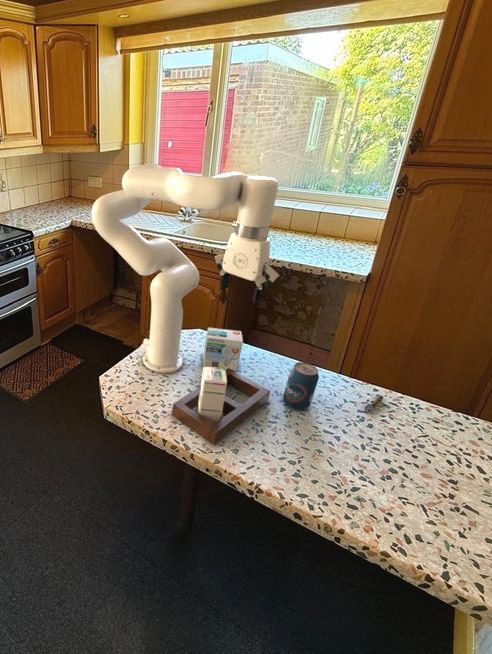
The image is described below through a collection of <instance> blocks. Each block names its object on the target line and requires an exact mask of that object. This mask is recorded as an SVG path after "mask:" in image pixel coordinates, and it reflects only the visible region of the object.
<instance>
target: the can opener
mask: <svg viewBox="0 0 492 654" xmlns="http://www.w3.org/2000/svg"><path fill="white" fill-rule="evenodd" d="M383 398H384V397H383V396H382V395H378V396H377V397H376V398H375V399H374V401H373V402H372V404H367V405H365V406H364V411H367V412H372V410H373V409H374V410H377V406H378V404H379V403H381V402H382V401H383Z"/></svg>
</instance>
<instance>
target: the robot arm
mask: <svg viewBox="0 0 492 654" xmlns="http://www.w3.org/2000/svg"><path fill="white" fill-rule="evenodd" d="M121 187H122V189H120V190H116V191H112V192H109V193H106V194H103V195H101V196H100V197H98V198H97V199H96V200H95V201H94V203H93V205H92V208H91V220H92V223H93V226H94V229H95V231H96V232H97V233H98V234H99V236H100V237H101V238H102V239H103V240H104V241H105V242H107V243H108V244H109V245H110V246H111V247H112V248H114V250H115V251H116V252H117V253H118V254H119V255H120V256H121V258H123V260H125V262H126V263H127V264H128V265H129V266H130V267H131V268H132V269H133V270H134V271H135V272H136V273H137V274H138V275H140V276H144V277H146V276H147V277H148V276H150V275H153V274H155V273H156V272H159V271H160V272H159V273H158V274H156V276H155V277H154V278H153V279H152V281H151V283H150V287H149V292H150V293H149V294H150V301H151V309H150V310H151V311H150V312H151V313H150V326H149V338H144V339H143V342H142V343H141V345H140V347H141V348H143V349H145V353H144V354H143V357H142V362H143V364H144V366H145V367H146V368H147V369H149V370H151V371H153V372H156V373H161V374H169V373H170V374H171V373H174V372H177V371H179V370H180V369H181V368H182V367H183V362H184V359H183V358H182V356H181V354H179V353H180V346H181V345H180V344H181V336H182V328H183V318H184V309H183V305H182V303H183V301H182V300H183V298H184V297H185V296H187V295H188V294H189V293H191V292H192V291H194V289H196V288H197V287H198V286H199V283H200V280H201V279H200V278H201V277H200V272H199V270H198V268H197V267H196V265H195V264H194V263H193V262H192V261H191V259H189V258H188V257H187V256H186V255H185V254H184V253H183V252H182V251H181V250H180V249H179V248H178V247H177V246H176V245H175V244H174V243H173V242H172V241H170V240H169V239H167V238H164V237H155V238H152V239H150V240H147V239H146V238H145V237H143V236H142V235H141V234H140V232H139V231H138V230H137V229H135V228H134V227H133V226H131V225H129V224H127V223H125V222H123V221H122V220H125V219H127V218H131V217H134V216H135V215H137V214H139V213H140V212H141V211H143V210H144V208H146V206H148V204H150V203H151V202H153V200H155V201H164V202H170V203H173V204H175V205H178V206H180V207H185V208H188V209H189V208H190V209H197V210H205V211H218V210H222V209H224V208H227V207H229V206H232V205H237V204H239V206H238V213H237V219H236V221H233V222H232V223H231V227H232V228H234V232H233V233H231V234H230V236H229V240H228V242H227V244H226V248H225V252H224V253H222V254H217V255H215V257H214V260H215V263H216V268H217V270H218V272H219V273H218V274H219V275H220V279H219V290H220V291H224V290H227V289H229V288H230V287H229V286H230V281H231V275H232V276H236V277H239V278H242V279H244V280H248V281H251V282H254V283H255V285H256V288H254V291H253V298H252V301H251V302H252V303H253V304H257V303H259V302H261V301H262V300H263V299H264V296H265V290H266V288H268V287H269V286H270V285H273V284H274V283H275V282H276V280H278V279H279V277H280V274H279V273H278V272H277V271H276V270H275V269H273V268H272V266H271V265H269V262H270V252H271V242H270V241H271V239H270V238H269V233H270V227H271V222H272V218H273V213H274V209H275V203H276V198H277V194H278V190H279V189H278V188H279V182H278V181H277V179H275V178H273V177H269V176H252V175H248V174H245V173H242V172H238V171H231V172H224V173H221V174H218V175H215V176H201V175H190V174H189V175H188V174H184V172H183V171H182V170H181V168H178V167H164V166H163V167H162V166H161V165H159V164H157V163H145V164H140V165H136V166H131V167H130V168H128V169H127V170H126V171H125V172H124V174H123V176H122V179H121ZM267 275H268V276H269V278H268V279H266V276H267Z"/></svg>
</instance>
